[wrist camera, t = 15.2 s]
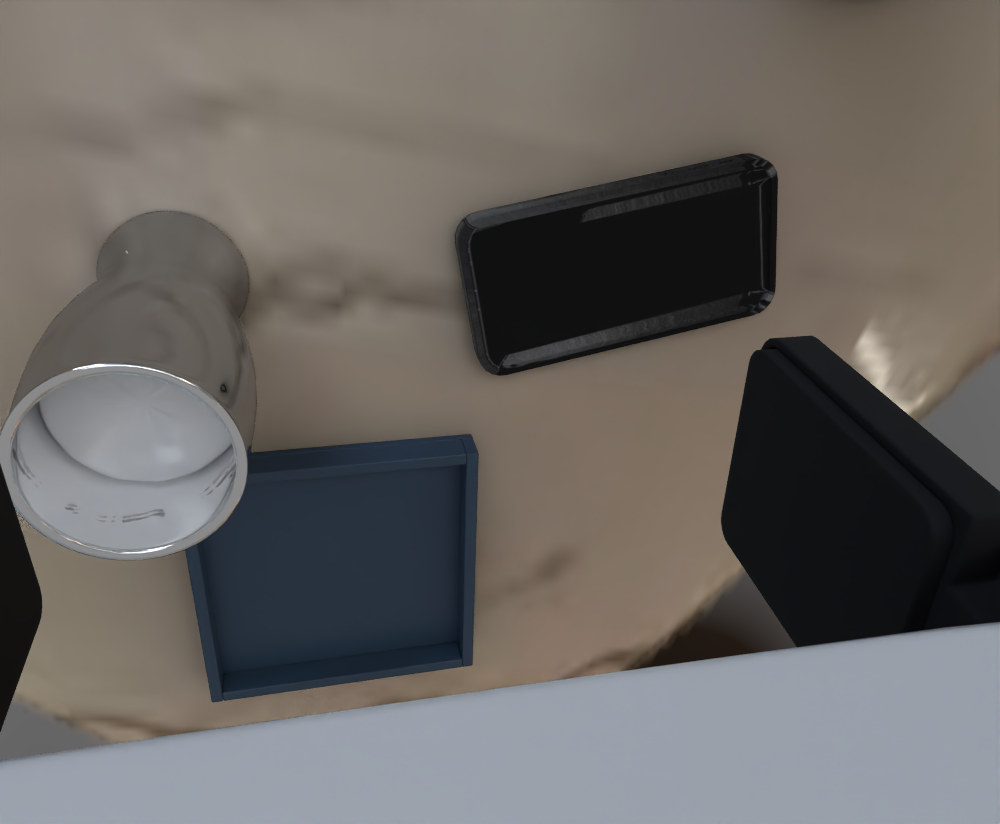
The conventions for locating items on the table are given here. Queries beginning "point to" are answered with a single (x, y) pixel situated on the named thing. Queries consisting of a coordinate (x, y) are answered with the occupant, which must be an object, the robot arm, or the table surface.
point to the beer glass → (139, 398)
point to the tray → (341, 567)
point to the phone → (619, 262)
